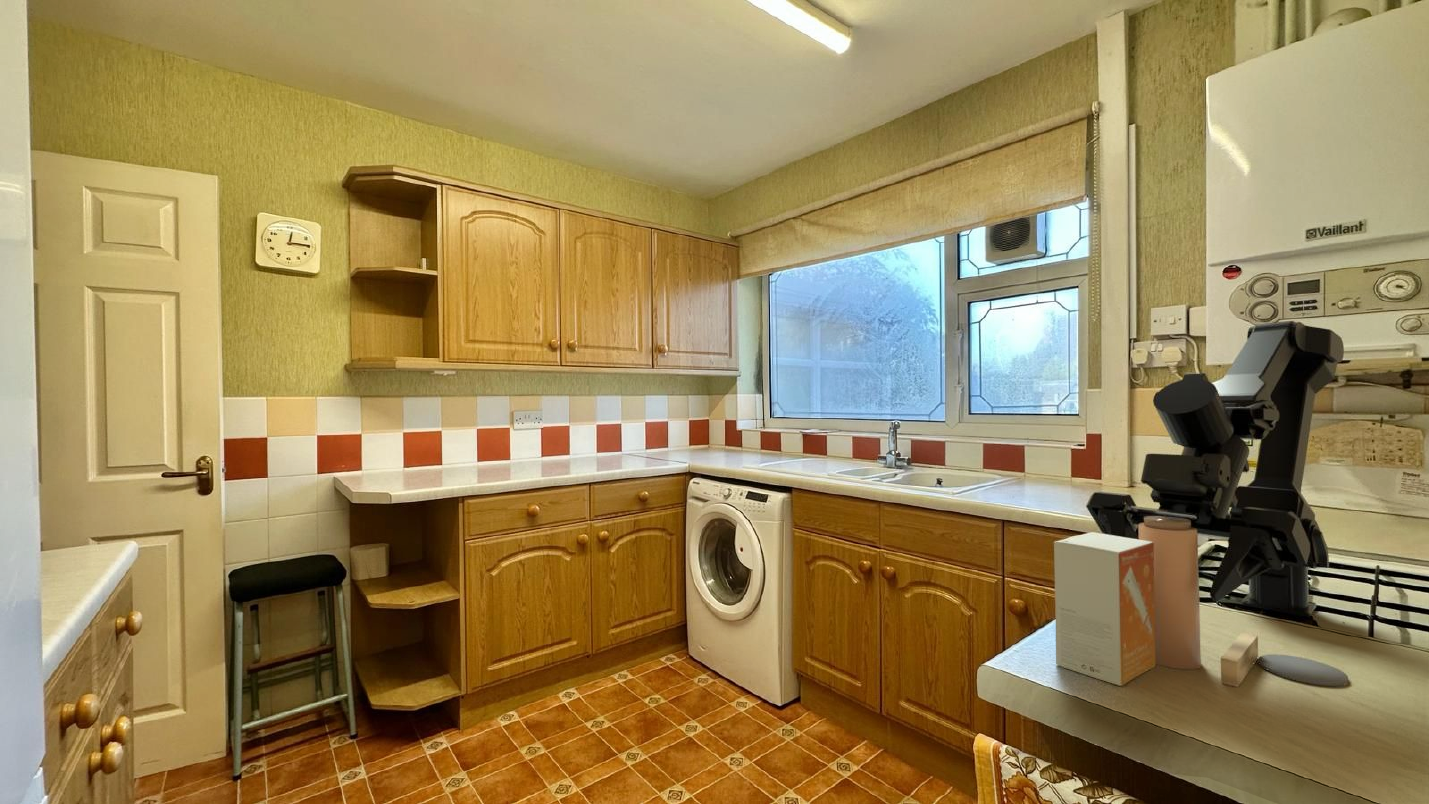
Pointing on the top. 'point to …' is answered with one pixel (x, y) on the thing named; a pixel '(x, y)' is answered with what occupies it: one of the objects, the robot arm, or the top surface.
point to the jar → (1175, 590)
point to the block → (1239, 659)
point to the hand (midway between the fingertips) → (1162, 587)
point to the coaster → (1303, 670)
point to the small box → (1105, 606)
